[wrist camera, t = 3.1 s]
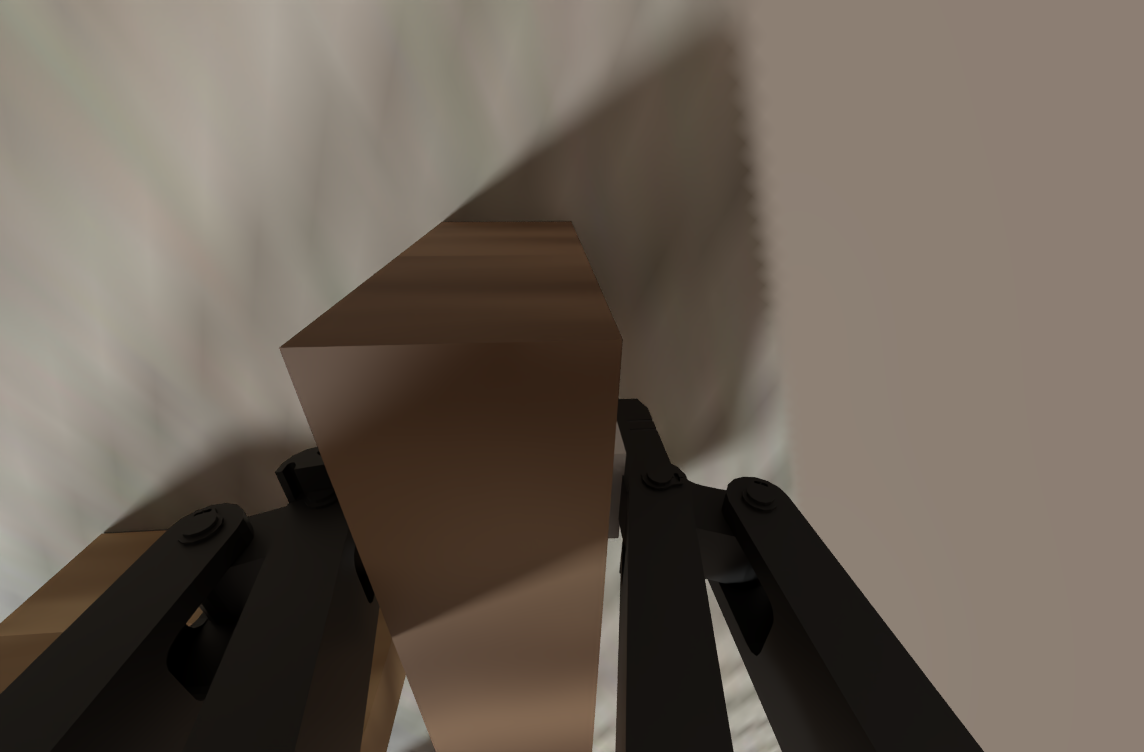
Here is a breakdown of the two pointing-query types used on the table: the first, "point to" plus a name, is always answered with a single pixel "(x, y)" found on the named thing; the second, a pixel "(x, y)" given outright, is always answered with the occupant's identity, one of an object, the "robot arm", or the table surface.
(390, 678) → the oak board
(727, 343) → the table surface
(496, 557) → the walnut plate
